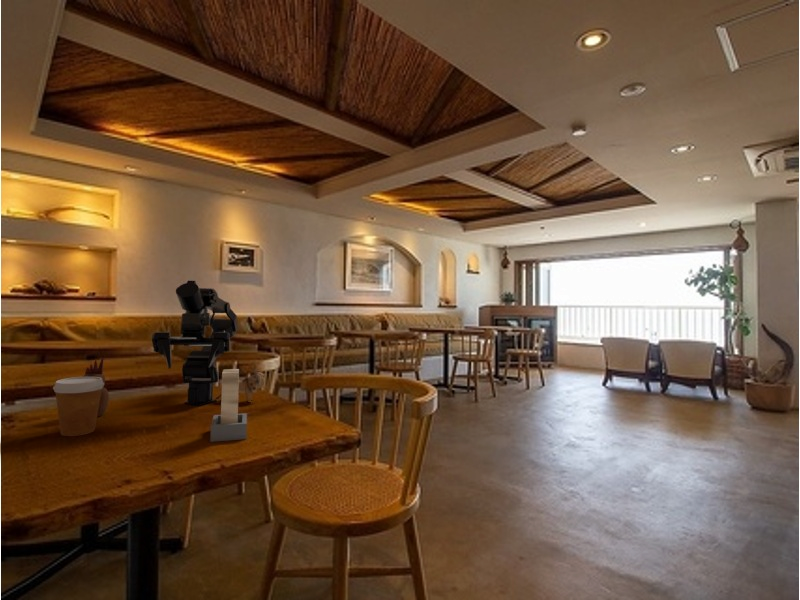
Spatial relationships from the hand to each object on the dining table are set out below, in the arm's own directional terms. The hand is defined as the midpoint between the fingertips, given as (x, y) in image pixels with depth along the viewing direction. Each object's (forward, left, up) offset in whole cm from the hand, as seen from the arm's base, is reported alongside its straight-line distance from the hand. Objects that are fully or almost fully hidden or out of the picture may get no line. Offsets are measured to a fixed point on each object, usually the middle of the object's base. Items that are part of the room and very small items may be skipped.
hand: (189, 367), depth 110 cm
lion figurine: (-22, -2, -14) cm, 26 cm away
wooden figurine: (+8, -24, -14) cm, 29 cm away
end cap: (+4, +18, -14) cm, 23 cm away
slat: (+4, +17, -13) cm, 22 cm away
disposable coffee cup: (+18, -14, -14) cm, 27 cm away
